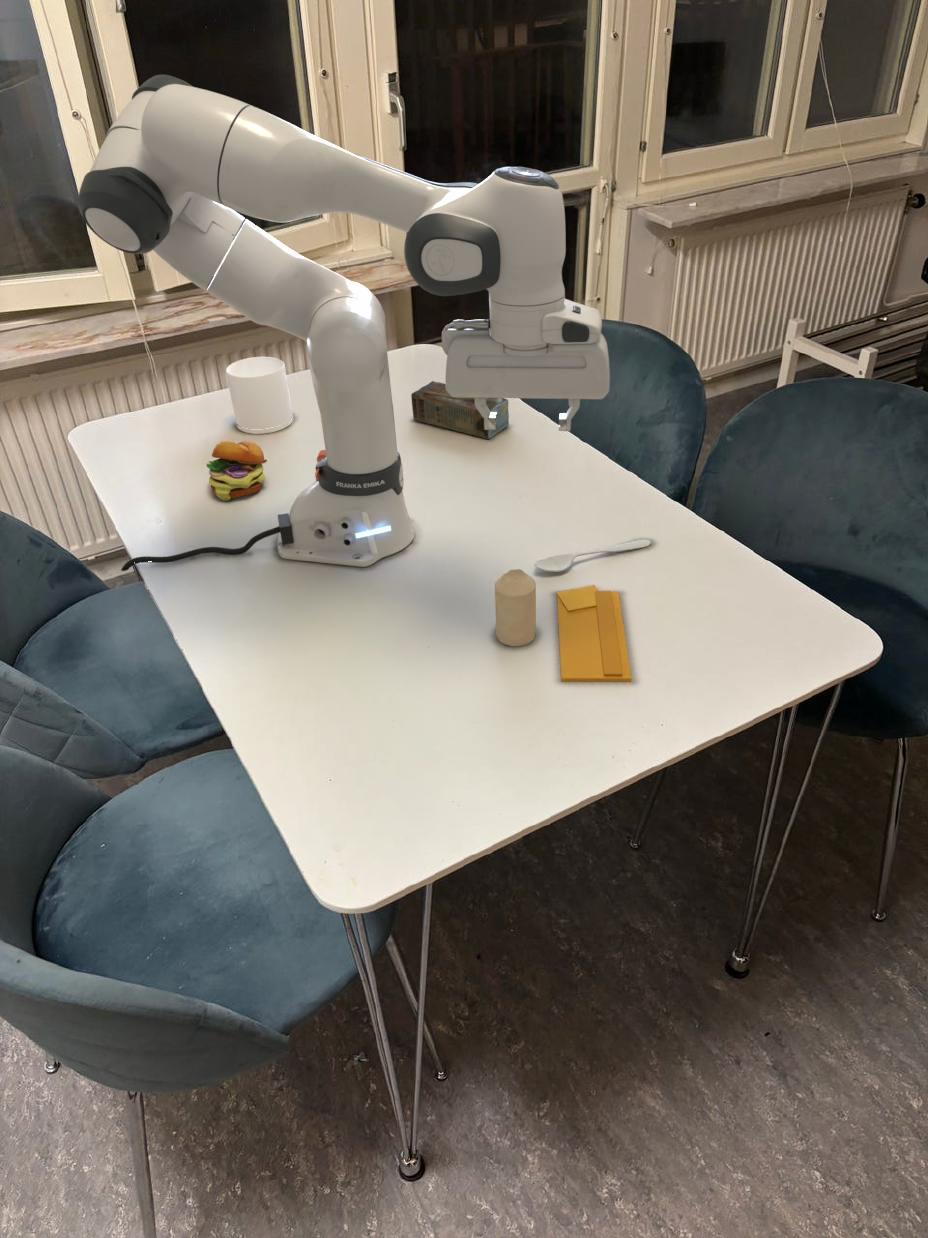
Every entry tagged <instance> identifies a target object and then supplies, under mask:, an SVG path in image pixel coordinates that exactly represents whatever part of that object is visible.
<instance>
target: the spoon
mask: <svg viewBox="0 0 928 1238" xmlns="http://www.w3.org/2000/svg"><path fill="white" fill-rule="evenodd" d="M651 543H652V542H651V540H649V539H637V540H633V541H629V542H624V543H620V544H619V543H618V544H615V545H610V546H606V547H605V546H604V547H600V548H596V549H590V550H586V551H577V552H570V553H565V554H557V555H553V556H549V557H546V558H543V559H540V560H536V561H535V562H534V565H533V567H534V568H536V569H538V570H541V571H545V572H552V573H554V572H556V573H558V572H564V571H566V570H568V569H569V568H570V567H571V566H572V565H573V562H574V560H575V559H576V558H577V557H580V556H588V555H593V554H600V553H615V552H627V551H632V550H638V549H643V548H646V547H649V546H650V545H651Z"/></svg>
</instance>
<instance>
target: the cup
mask: <svg viewBox="0 0 928 1238" xmlns="http://www.w3.org/2000/svg"><path fill="white" fill-rule="evenodd" d="M286 371H287V370H286V364H285V362H284V361H282V360H281V359H280V358H277V357H273V356H254V357H253V356H252V357H248V358H247V357H246V358H243V359H242V358H241V359H239V360H237V361H234V362H232V363H231V364H229V365H228V366H227V367H226V369H225V374H226V380H227V385H228V389H229V394H230V399H231V403H232V409H233V414H234V418H235V423H236V422H237V423H238V425H240V426H241V427H240V426H238V425H237V423H236V427H237V429H238V430H239V431H242V432H244V433H246V434H252V435H263V434H264V435H265V434H270V433H275V432H279V431H282V430H284V429H286V428H288V427H289V426H290V425H291V424H292V423H293V421H294V415H292V414H293V408H292V402H291V396H290V390H289V384H288V378H287V372H286ZM291 417H292V418H291ZM290 419H291V420H290ZM287 421H288V422H287ZM286 422H287V423H286ZM284 423H285V424H284ZM282 424H283V425H282ZM278 425H281V426H278ZM276 426H278V427H276ZM242 427H244V428H242ZM270 427H274V428H270ZM245 428H248V429H245ZM265 428H270V429H265ZM251 429H263V430H251Z"/></svg>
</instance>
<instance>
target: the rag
mask: <svg viewBox="0 0 928 1238" xmlns="http://www.w3.org/2000/svg"><path fill="white" fill-rule="evenodd" d="M556 603H557V604H556V605H557V621H558V622H557V624H558V641H559V643H558V644H559V660H560V661H559V663H560V680H561V682H632V674H631V668H630V667H631V666H630V660H629V654H628V646H627V640H626V634H625V633H626V632H625V626H624V621H623V614H622V613H623V612H622V606H621V598H620V593H619V591H615V590H614V591H612V590H599V589H598V588H597V586H596V585H595V584H592V585H587V586H580V587H575V588H570V589H565V590H560V591H556Z"/></svg>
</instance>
